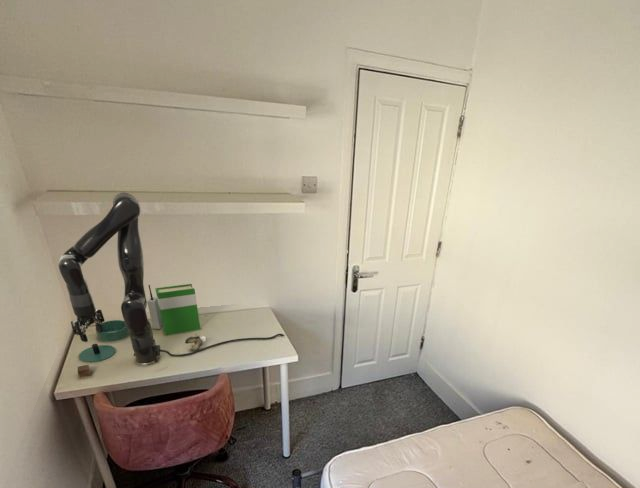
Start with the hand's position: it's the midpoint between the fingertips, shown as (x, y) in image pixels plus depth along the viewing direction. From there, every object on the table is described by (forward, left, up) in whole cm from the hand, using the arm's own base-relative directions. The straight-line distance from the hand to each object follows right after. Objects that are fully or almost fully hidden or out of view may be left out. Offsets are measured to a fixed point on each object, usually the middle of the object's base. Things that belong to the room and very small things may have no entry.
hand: (92, 336), depth 168 cm
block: (+6, +4, -17) cm, 18 cm away
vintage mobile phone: (-21, -37, -17) cm, 46 cm away
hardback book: (-33, -32, -17) cm, 49 cm away
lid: (+4, -13, -16) cm, 21 cm away
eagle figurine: (-40, -11, -17) cm, 45 cm away
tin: (0, -32, -17) cm, 36 cm away
